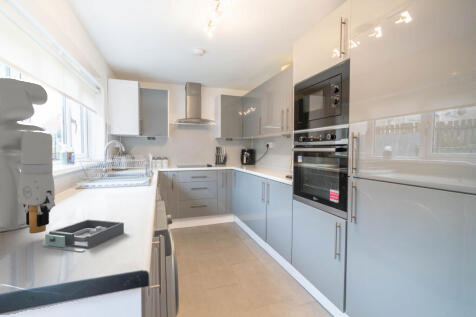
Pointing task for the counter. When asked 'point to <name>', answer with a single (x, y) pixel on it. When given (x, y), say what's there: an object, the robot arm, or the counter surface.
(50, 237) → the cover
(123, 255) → the counter surface
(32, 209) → the peg
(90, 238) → the tray
